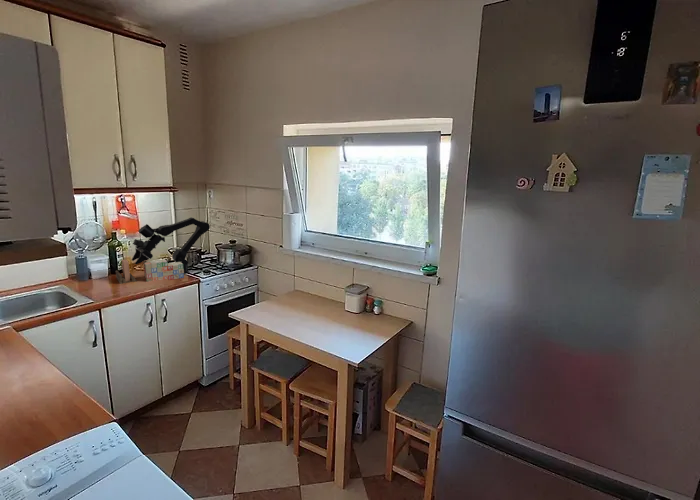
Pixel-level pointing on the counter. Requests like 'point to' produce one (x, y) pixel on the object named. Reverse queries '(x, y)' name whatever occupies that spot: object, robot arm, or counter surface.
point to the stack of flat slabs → (121, 278)
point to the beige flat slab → (125, 270)
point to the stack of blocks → (162, 270)
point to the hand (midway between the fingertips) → (133, 262)
